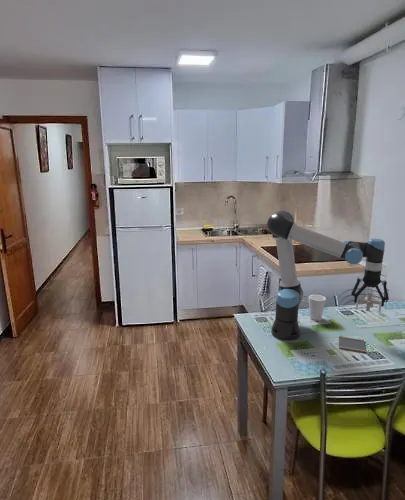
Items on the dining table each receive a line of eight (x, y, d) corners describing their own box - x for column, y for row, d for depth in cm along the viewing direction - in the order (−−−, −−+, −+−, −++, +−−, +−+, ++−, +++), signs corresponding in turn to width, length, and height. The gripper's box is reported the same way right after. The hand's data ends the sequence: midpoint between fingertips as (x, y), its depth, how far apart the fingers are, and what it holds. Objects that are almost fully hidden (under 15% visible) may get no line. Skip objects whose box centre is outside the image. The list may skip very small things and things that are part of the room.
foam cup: (326, 321, 204) (327, 300, 201) (310, 321, 205) (311, 300, 201) (321, 314, 214) (322, 294, 211) (305, 314, 214) (307, 294, 211)
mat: (338, 348, 175) (339, 346, 174) (339, 337, 186) (339, 336, 185) (365, 353, 171) (365, 351, 170) (363, 341, 181) (364, 339, 181)
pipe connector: (380, 315, 178) (383, 297, 176) (359, 313, 180) (361, 295, 178) (375, 307, 188) (377, 290, 185) (355, 306, 190) (357, 288, 187)
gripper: (349, 268, 179) (344, 309, 184) (399, 274, 171) (393, 316, 177) (348, 265, 186) (344, 304, 191) (397, 269, 178) (391, 310, 184)
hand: (367, 310), depth 184 cm, fingers closed on pipe connector, 10 cm apart
